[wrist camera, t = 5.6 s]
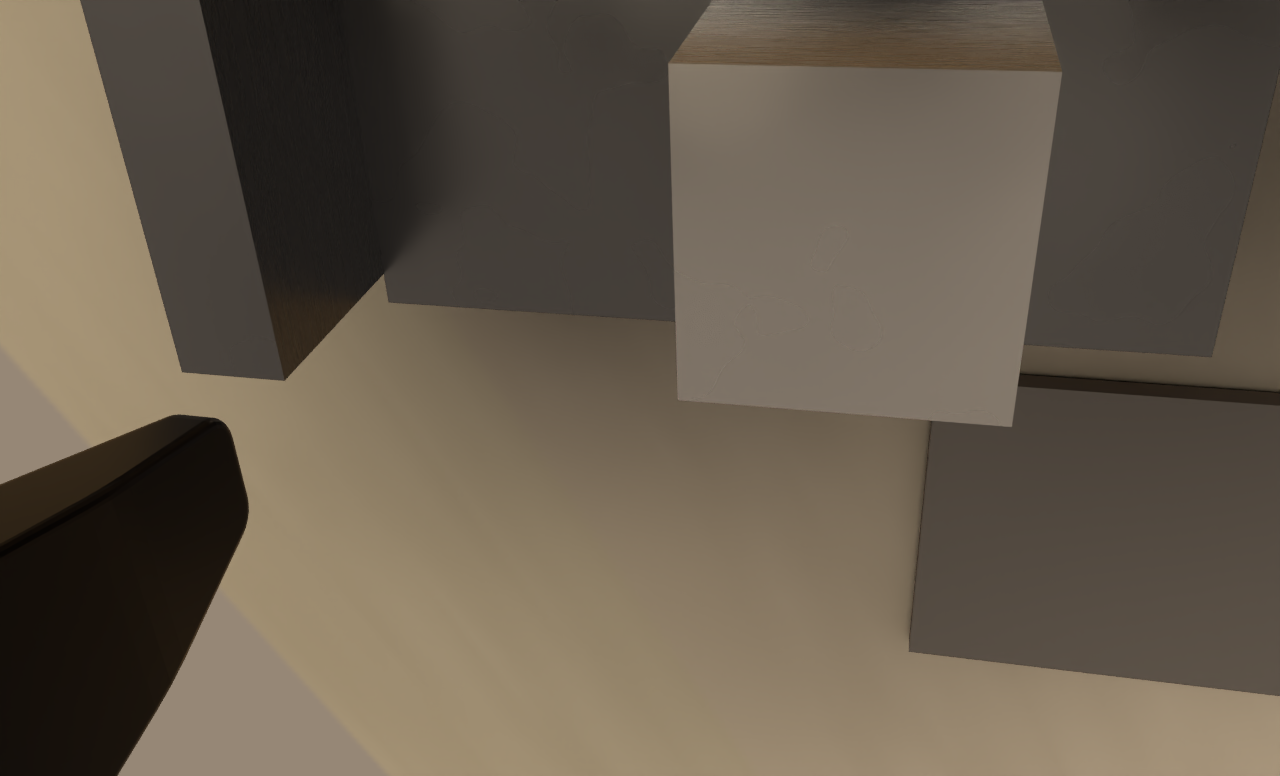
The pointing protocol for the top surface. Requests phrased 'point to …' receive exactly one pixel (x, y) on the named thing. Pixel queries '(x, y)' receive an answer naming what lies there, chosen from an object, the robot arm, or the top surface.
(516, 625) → the top surface
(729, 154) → the lever cap
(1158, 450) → the rubber pad
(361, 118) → the plane body
